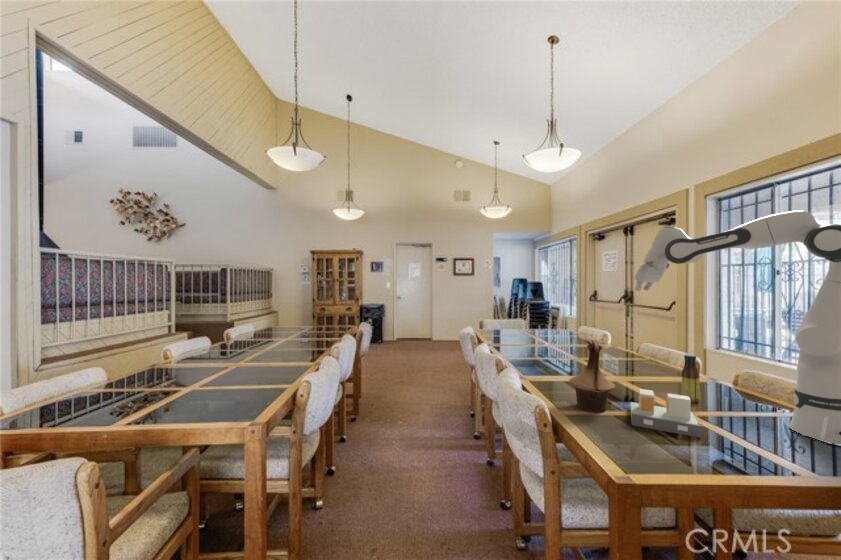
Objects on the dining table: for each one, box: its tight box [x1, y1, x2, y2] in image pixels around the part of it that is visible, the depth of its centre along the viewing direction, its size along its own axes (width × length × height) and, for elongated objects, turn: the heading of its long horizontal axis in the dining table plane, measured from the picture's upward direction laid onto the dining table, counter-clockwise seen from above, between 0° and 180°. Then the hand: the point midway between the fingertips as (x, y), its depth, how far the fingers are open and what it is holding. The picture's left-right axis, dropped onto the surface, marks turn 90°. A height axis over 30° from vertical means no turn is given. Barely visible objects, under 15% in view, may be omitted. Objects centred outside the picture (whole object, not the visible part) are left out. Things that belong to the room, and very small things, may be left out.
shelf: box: [629, 401, 702, 439], centre depth 132 cm, size 20×17×4 cm
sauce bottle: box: [681, 353, 701, 403], centre depth 154 cm, size 6×6×20 cm
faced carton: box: [638, 388, 655, 414], centre depth 136 cm, size 4×7×7 cm, turn 151°
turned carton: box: [665, 393, 692, 419], centre depth 131 cm, size 4×7×7 cm, turn 61°
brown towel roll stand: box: [568, 339, 616, 413], centre depth 146 cm, size 18×17×28 cm
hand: (641, 290), depth 162 cm, fingers open, 8 cm apart
